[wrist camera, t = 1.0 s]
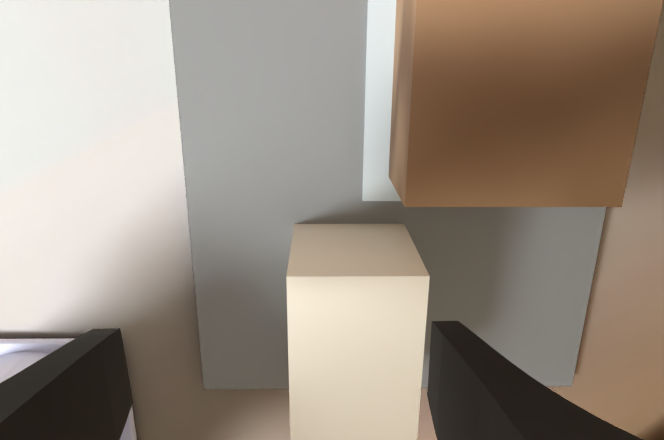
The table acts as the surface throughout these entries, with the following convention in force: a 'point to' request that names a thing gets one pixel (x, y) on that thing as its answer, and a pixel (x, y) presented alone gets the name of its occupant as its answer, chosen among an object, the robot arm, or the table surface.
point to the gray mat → (343, 192)
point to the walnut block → (518, 100)
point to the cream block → (355, 332)
